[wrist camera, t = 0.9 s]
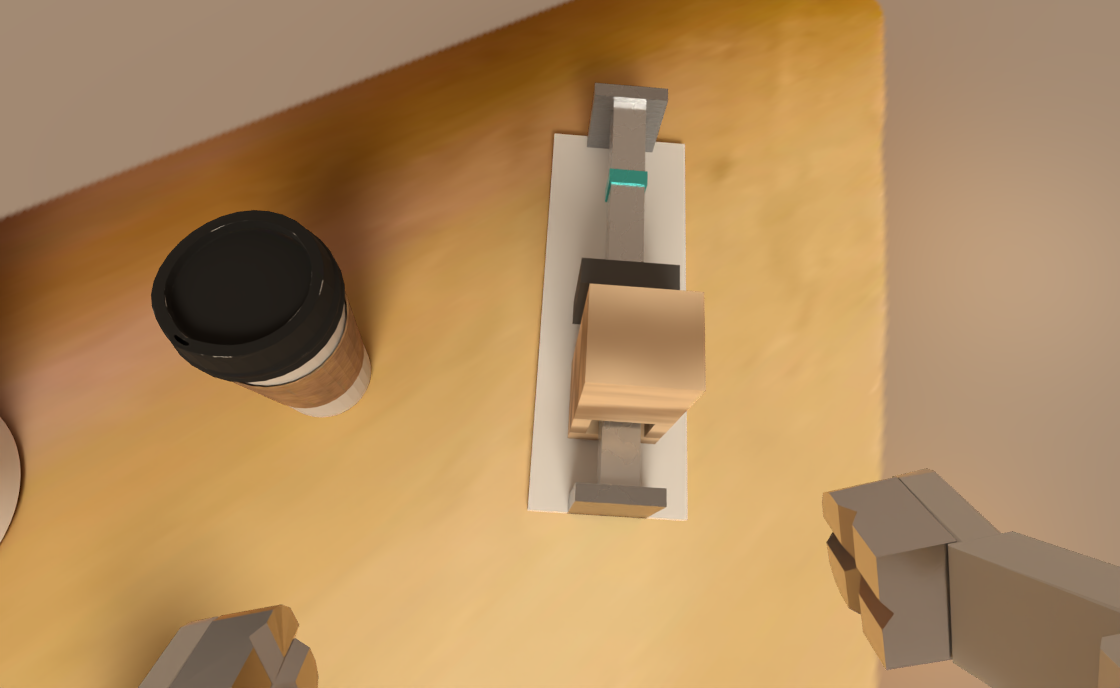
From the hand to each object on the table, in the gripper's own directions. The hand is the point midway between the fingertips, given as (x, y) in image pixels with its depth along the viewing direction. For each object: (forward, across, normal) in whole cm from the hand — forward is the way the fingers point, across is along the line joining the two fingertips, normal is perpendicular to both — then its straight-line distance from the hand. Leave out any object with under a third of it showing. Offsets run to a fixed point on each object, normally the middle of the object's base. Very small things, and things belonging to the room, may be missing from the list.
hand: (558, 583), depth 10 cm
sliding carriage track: (+37, -3, +8) cm, 38 cm away
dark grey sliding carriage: (+35, -3, +8) cm, 36 cm away
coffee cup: (+34, +17, +7) cm, 38 cm away
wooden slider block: (+32, -1, +12) cm, 34 cm away
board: (+37, -3, +8) cm, 38 cm away
